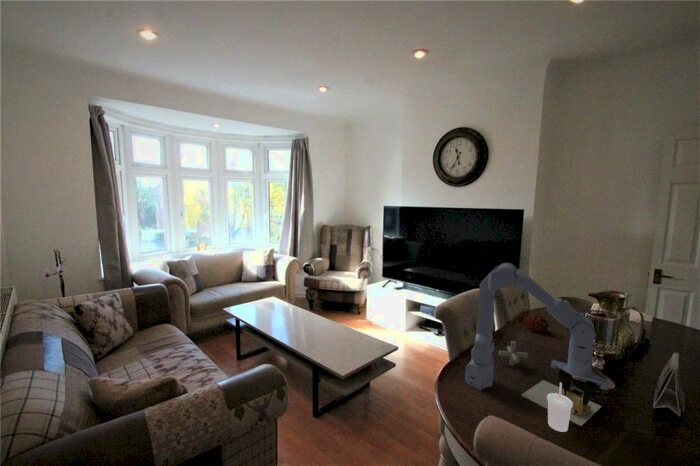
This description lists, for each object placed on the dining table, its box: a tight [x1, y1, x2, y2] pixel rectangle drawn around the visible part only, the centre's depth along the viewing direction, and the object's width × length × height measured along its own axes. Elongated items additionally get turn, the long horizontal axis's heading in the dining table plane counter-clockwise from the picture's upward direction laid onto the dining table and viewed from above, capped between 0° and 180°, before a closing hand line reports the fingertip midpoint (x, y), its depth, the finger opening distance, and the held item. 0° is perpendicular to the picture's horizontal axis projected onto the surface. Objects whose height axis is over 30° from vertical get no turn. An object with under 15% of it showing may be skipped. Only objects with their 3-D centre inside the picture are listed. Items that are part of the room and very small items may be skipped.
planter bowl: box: [557, 296, 595, 316], centre depth 165 cm, size 16×16×11 cm
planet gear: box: [566, 386, 591, 416], centre depth 95 cm, size 7×7×5 cm
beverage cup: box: [547, 381, 573, 433], centre depth 88 cm, size 6×6×14 cm
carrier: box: [521, 380, 602, 427], centre depth 100 cm, size 15×17×4 cm
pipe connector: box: [498, 340, 529, 366], centre depth 121 cm, size 10×10×10 cm
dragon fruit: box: [521, 314, 549, 333], centre depth 154 cm, size 8×8×12 cm
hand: (576, 399), depth 95 cm, fingers closed on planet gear, 4 cm apart
